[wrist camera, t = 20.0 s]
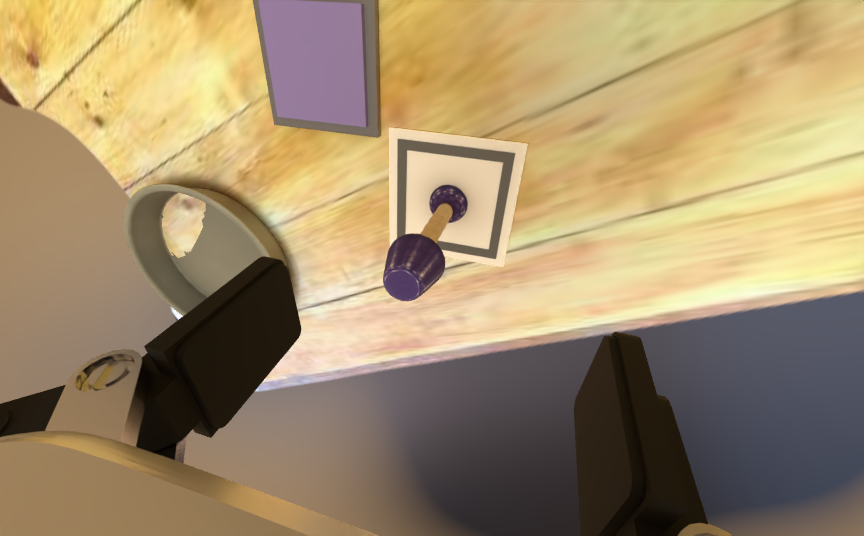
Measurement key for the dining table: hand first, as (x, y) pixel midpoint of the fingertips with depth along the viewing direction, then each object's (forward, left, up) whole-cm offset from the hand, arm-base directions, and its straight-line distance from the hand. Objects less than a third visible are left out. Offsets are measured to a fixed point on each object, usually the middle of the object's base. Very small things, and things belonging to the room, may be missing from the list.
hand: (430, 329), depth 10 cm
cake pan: (+38, +22, -29) cm, 52 cm away
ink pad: (+19, -4, -29) cm, 35 cm away
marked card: (+5, +8, -29) cm, 30 cm away
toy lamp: (+5, +7, -29) cm, 30 cm away
